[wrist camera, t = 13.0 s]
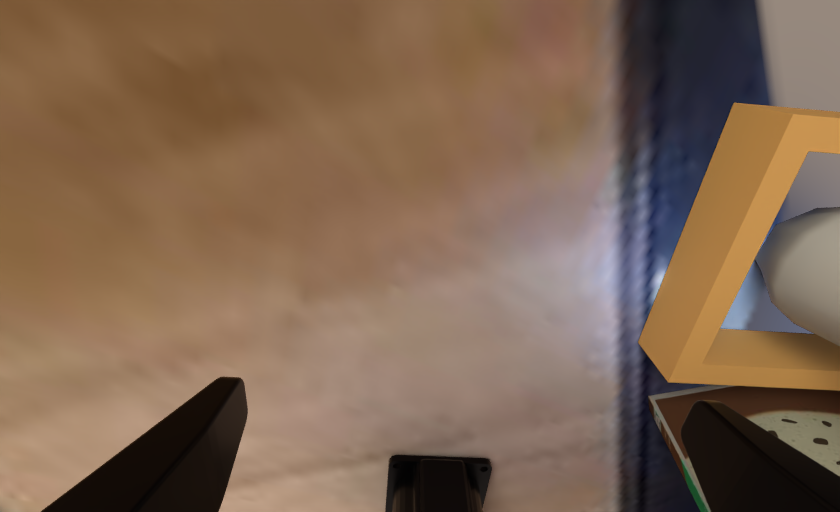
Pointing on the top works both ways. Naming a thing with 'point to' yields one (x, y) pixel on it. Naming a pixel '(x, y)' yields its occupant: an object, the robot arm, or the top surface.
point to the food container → (757, 421)
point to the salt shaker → (806, 270)
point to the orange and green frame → (739, 259)
